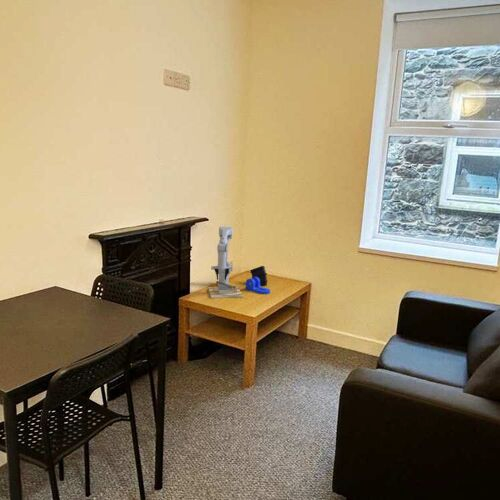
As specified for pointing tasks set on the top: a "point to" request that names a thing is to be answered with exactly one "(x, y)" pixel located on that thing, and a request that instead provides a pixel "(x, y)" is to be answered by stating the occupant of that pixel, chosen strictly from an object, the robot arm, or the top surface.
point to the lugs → (233, 289)
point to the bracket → (256, 286)
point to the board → (217, 295)
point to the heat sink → (225, 290)
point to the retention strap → (225, 284)
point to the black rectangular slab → (260, 275)
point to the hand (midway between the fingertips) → (221, 279)
